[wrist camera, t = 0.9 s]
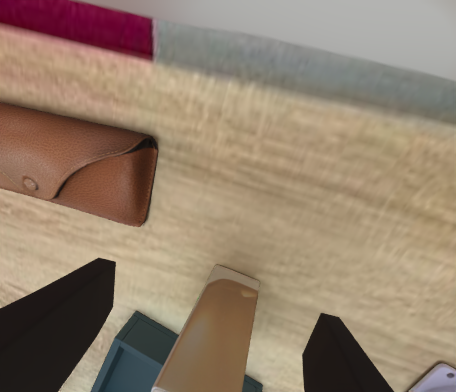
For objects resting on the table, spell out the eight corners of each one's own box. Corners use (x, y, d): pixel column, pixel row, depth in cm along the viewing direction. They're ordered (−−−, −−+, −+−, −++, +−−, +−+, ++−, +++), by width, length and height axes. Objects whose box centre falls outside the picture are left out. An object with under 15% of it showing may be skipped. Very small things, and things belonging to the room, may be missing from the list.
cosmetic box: (240, 333, 25) (202, 510, 14) (197, 316, 26) (125, 472, 14) (262, 277, 23) (239, 430, 12) (215, 259, 24) (149, 389, 12)
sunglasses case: (-22, 186, 27) (-110, 160, 20) (9, 122, 28) (-63, 79, 22) (148, 230, 24) (109, 216, 18) (171, 158, 26) (144, 120, 19)
